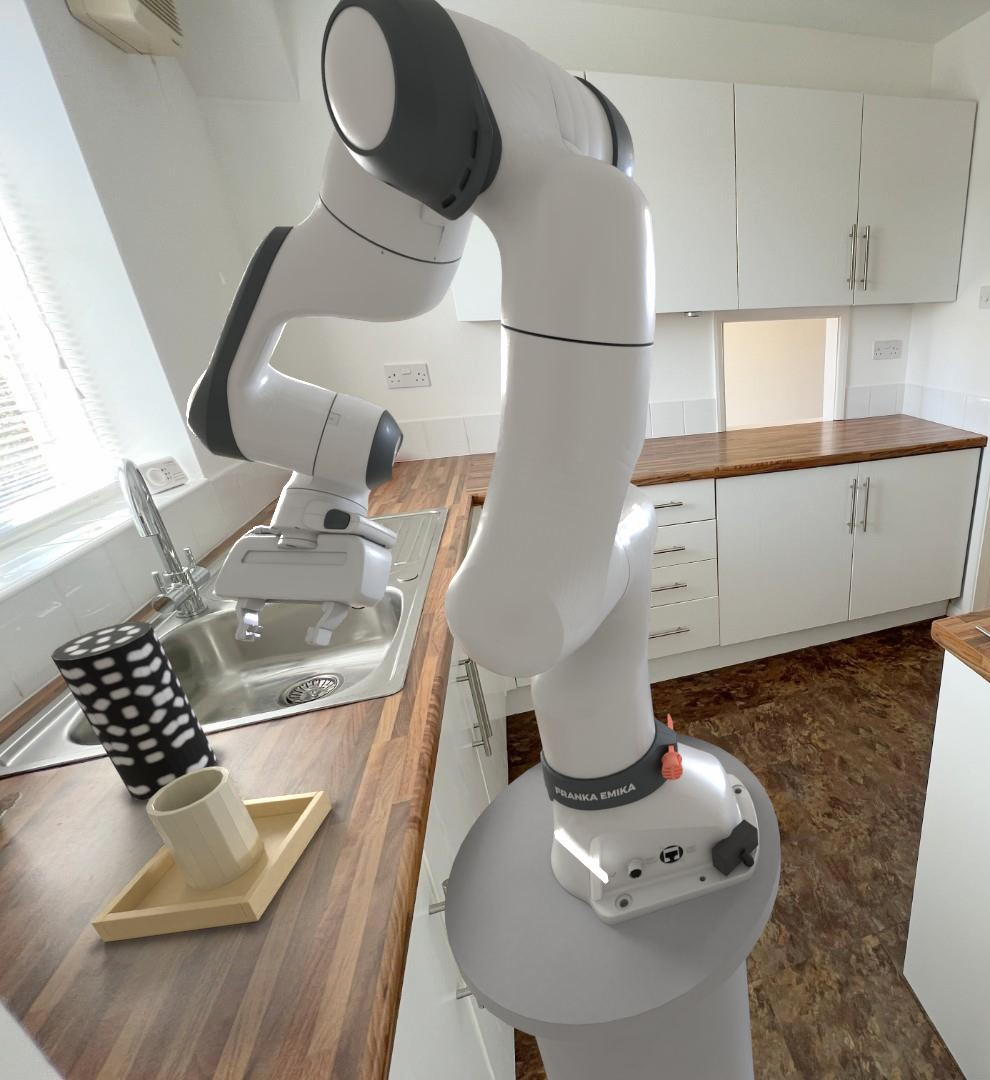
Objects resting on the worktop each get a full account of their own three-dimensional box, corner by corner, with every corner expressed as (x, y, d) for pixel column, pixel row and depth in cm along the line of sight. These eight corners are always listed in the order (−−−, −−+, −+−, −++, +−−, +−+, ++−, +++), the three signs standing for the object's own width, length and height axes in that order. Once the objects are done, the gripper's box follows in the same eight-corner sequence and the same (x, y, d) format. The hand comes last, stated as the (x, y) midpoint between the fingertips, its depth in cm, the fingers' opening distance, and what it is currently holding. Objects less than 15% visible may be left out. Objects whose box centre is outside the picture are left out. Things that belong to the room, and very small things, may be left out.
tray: (332, 807, 68) (325, 790, 67) (258, 921, 55) (248, 902, 54) (208, 823, 66) (199, 805, 66) (103, 942, 54) (91, 923, 53)
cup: (276, 834, 64) (242, 762, 60) (239, 886, 58) (199, 810, 54) (216, 842, 63) (178, 770, 59) (172, 895, 57) (128, 819, 54)
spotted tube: (133, 774, 75) (58, 640, 67) (215, 742, 80) (153, 614, 72) (127, 812, 69) (44, 669, 61) (216, 775, 74) (149, 639, 66)
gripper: (222, 516, 68) (177, 633, 64) (371, 516, 64) (333, 641, 60) (271, 534, 74) (232, 643, 70) (410, 536, 70) (379, 651, 65)
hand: (280, 642), depth 65 cm, fingers open, 8 cm apart
